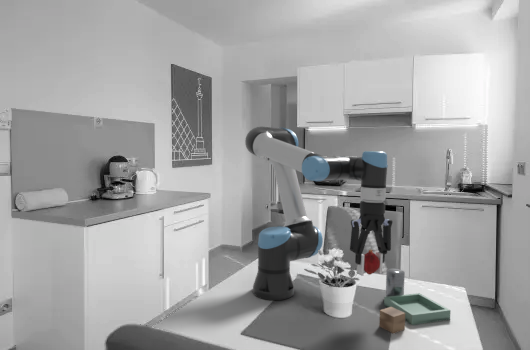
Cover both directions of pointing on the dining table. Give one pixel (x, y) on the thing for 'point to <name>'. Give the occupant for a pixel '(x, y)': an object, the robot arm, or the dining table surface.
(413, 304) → the tray
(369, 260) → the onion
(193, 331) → the dining table surface
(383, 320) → the walnut block
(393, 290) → the metal can
